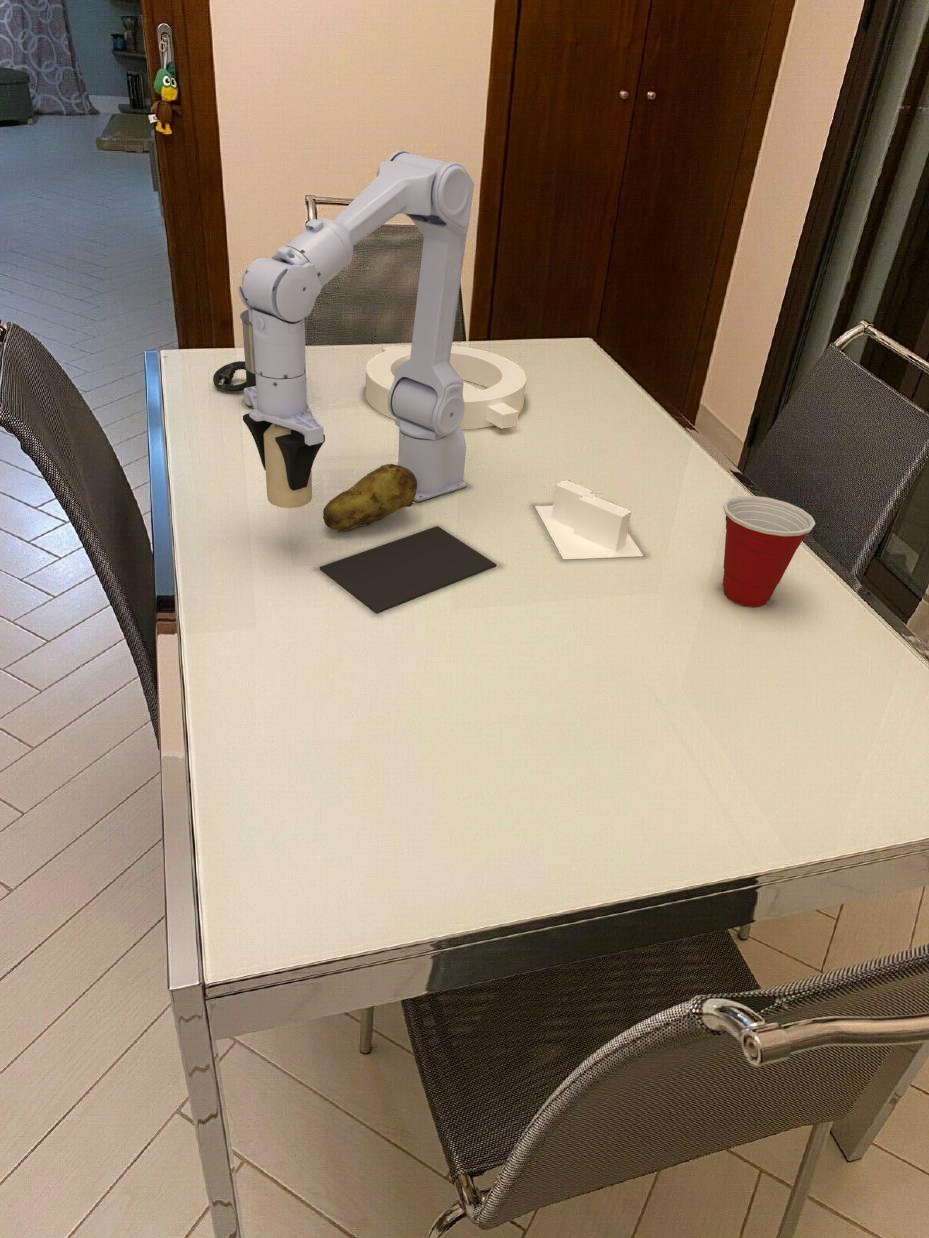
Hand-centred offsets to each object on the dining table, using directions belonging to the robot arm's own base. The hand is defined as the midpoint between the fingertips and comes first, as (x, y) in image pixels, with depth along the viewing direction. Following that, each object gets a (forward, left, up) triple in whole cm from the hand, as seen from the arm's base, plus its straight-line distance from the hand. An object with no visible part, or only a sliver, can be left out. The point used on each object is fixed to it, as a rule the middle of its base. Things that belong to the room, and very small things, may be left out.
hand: (285, 478), depth 115 cm
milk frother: (-22, -46, -10) cm, 53 cm away
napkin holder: (-36, +19, -10) cm, 42 cm away
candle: (0, 0, -3) cm, 3 cm away
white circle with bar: (-50, -29, -10) cm, 59 cm away
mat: (-10, +13, -10) cm, 19 cm away
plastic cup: (-41, +42, -10) cm, 60 cm away
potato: (-12, +1, -10) cm, 16 cm away
